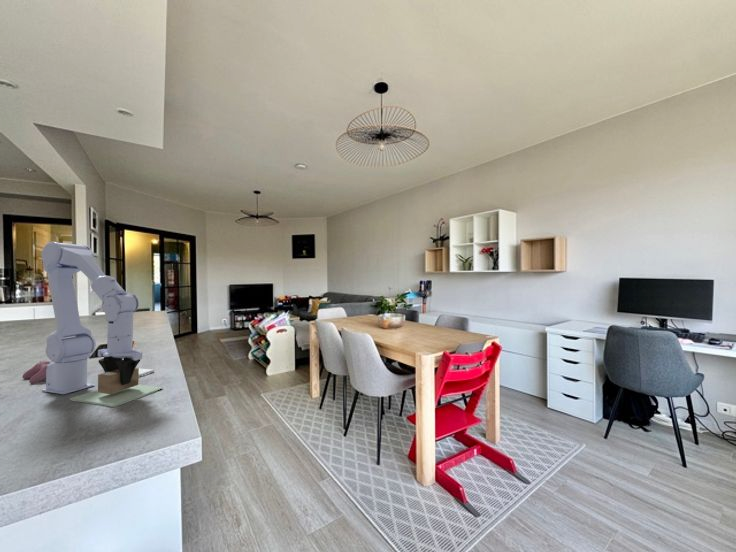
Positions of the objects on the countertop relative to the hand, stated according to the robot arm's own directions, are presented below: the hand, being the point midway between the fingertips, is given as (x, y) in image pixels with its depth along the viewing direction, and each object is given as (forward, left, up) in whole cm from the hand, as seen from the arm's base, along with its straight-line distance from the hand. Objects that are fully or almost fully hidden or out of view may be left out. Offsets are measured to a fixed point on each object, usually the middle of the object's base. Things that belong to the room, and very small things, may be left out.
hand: (119, 383), depth 89 cm
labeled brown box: (0, 0, -2) cm, 2 cm away
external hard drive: (-14, +13, -4) cm, 20 cm away
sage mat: (0, 0, -3) cm, 3 cm away
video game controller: (-38, +2, -4) cm, 39 cm away
